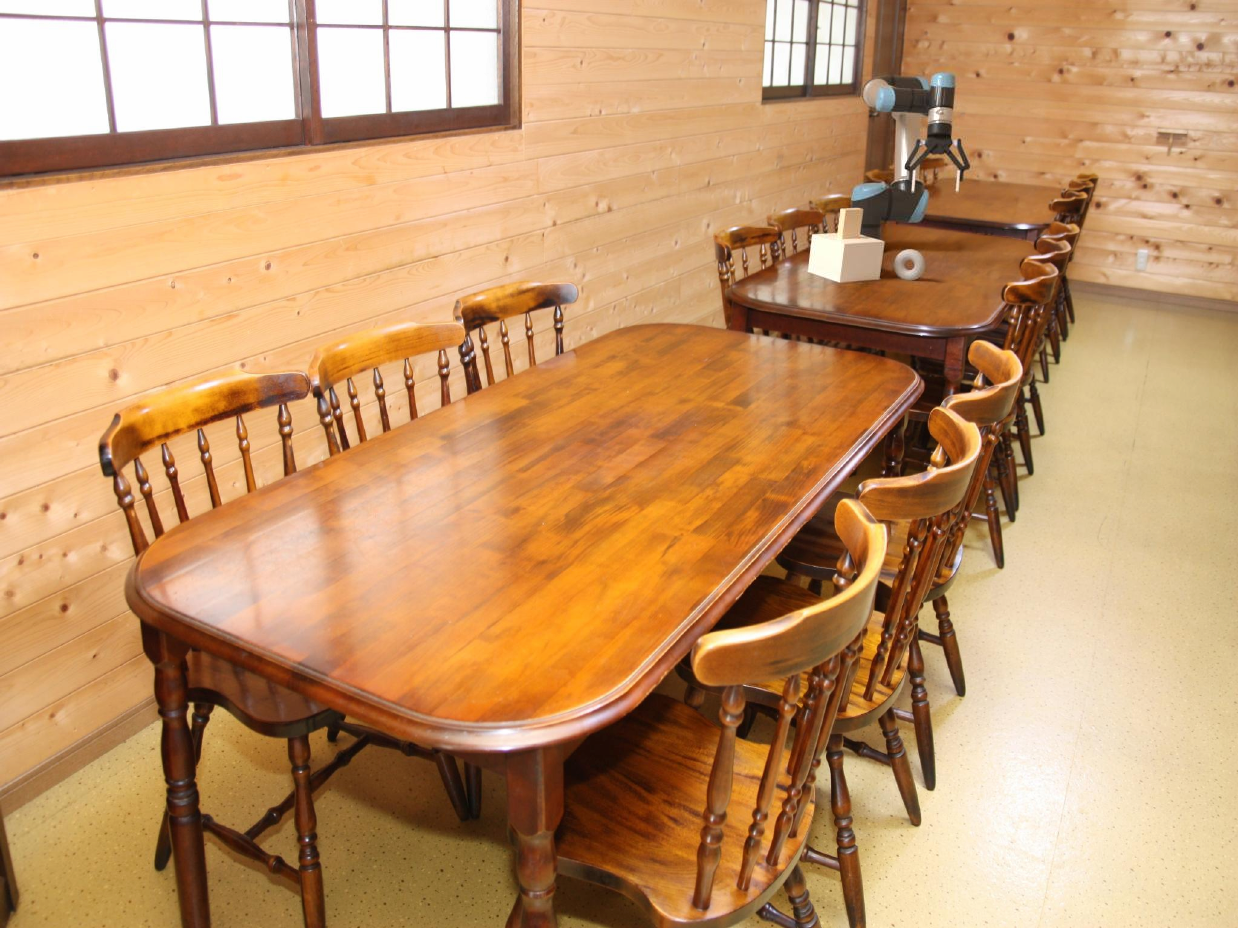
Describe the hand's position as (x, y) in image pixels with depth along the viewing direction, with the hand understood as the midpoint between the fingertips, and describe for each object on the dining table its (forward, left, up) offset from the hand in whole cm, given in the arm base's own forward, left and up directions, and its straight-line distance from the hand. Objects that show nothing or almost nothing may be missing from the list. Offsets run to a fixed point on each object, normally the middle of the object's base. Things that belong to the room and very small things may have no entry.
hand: (934, 192), depth 331 cm
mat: (-4, -30, -26) cm, 40 cm away
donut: (+7, -13, -26) cm, 30 cm away
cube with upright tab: (-4, -30, -26) cm, 40 cm away
